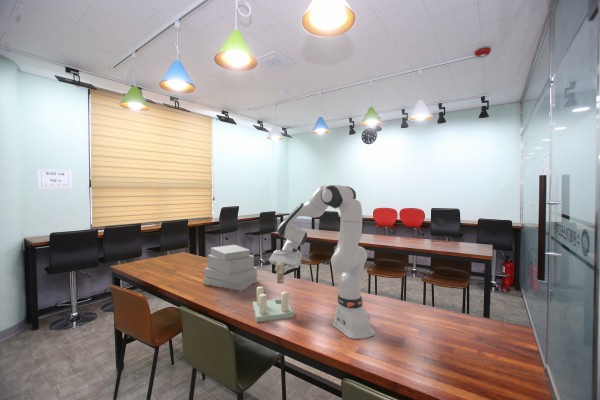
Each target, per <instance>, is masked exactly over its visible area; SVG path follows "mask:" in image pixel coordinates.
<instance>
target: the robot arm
mask: <svg viewBox="0 0 600 400" xmlns="http://www.w3.org/2000/svg"><path fill="white" fill-rule="evenodd" d="M328 207H331V208H334V209H338V210H339V213H340V216H339V217H340V218H339V219H340V221H339V222H340V223H339V237H338V241H337V243H336V244H337V245H336V248H335V251H334V253H333V254H332V256H331V258H330V264H331V267H332V268H333V269H334V271H336V272H338V273H341V274H340V277H339V280H338V294H337V305H336V307H335V311H334V312H335V313H334V321H332V323H331V324H332V327H334V328H336V330H338V331H339V332H341V333H342V334H343V335H344V336H345V337H347V338H348V339H353V340H359V339H361V340H362V339H367V338H371V336H372V337H373V335H374V336H375V335H376V331H375V330H374V328H373V327H372V325H371V322H370V320H371V315H370V314H367V312H366V309H365V308H364V306H363V305H364V302H363V298H362V295H361V294H362V293H361V292H362V289H361V287H362V286H361V285H362V278H363V273H364V268H365V264H366V262H367V259H368V251H367V250H366V249H365V248H364V247H363V246H360V245H359V243H360V240H361V239H362V236H363V209H362V203H361V201H359V200H358V199H357V193H356V191H355V190H354V188H352V187H350V186H348V185H347V186H346V185H345V186H344V185H341V184H335V185H334V184H333V185H321V186H319V187H318V188H317V189H316V190H315V191H314V192H313V194H312V195H311V196H310V198H309V200H307V201H305V202H302V203H300V204H298V205H297V206H296V207H295V208H294V209H293V210H292V211H291V212H290V214H289V215H288V216H287V217H286V218H285V219H284V220H282V222H281V223H280V224H279V225H278V227H277V233H278V236H279V237H282V238H284V239H286V240H285V243H284V244H283V247H282V249H281V250H278V249H276V250H274V251H273V252H272V254H271V256H270V257H269V258H268V261H269V263H270V264H271V265H275V267H274V272H277V262H278V261H283V262H284V268H283V270H282V271H283V272H284V274H285V273H287V271H288V270H290V268H296V269H298V268H299V267H300V266H301V263H302V258H303V254H302V253H301V251H300V250H299V249H298V248H299V247H301V246H303V245H305V244H306V240H307V238H308V232H307V231H306V230H305V229H302V228H301V227H299V226H297V225H295V224H294V222H295V220H296V219H297V218H299V217H307V218H312V219H313V218H315V219H316V218H319V217H321V216H322V215H324V213H325V212H326V211H327V209H328Z"/></svg>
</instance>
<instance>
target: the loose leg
mask: <svg viewBox="0 0 600 400" xmlns="http://www.w3.org/2000/svg"><path fill="white" fill-rule="evenodd" d="M283 268H284V269H285V266H284V262H283V261H278V262H277V271H276V282H277V283H278V284H283V283H285V273H284V272H283V271H282V270H283Z"/></svg>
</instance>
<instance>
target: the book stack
mask: <svg viewBox="0 0 600 400" xmlns="http://www.w3.org/2000/svg"><path fill="white" fill-rule="evenodd" d="M250 252H251V249H248V248H245V247H243V246H240V245H237V244H229V245H222V246H214V247H211V248H210V254H208V255H207V267H205V268H204V278H203V285H204V284H205V285H204V286H209V285H213V286H212V287H215V286H219V287H218V288H221V287H224V288H223V289H227V288H229V290H234V289H235V291H240V292H241V291H244V290H246V289H247V288H249V287H251V286H252V285H254V284H255V283H257V282H258V276H259V274H258V268H259V266H258V267H257V266H255V255H253V254H250ZM253 283H254V284H253ZM248 286H249V287H248ZM243 289H244V290H243Z"/></svg>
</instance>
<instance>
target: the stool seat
mask: <svg viewBox="0 0 600 400" xmlns="http://www.w3.org/2000/svg"><path fill="white" fill-rule="evenodd" d="M264 292H265V291H264V286H257V287H256V301H252V309H253V313H254V316H255V317H254V318H255V322H256V323H258V322H266V321H267V322H268V321H273V320H282V319H288V318H289V319H291V318H294V317H295V312H294V310H293V309H292V306H291V305H290V303H289V299H290V298H289V293H290V292H288V291H282V292H280V293H281V295H280V297H281V298H279V299H278V298H275V299H268V294H265V293H264Z"/></svg>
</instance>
